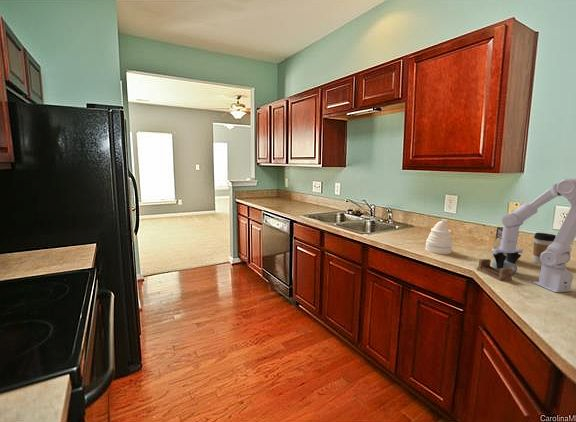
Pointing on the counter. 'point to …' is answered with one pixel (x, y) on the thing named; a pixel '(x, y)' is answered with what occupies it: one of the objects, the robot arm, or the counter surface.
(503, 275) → the roll cradle
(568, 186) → the robot arm
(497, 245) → the coffee box
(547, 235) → the coffee cup
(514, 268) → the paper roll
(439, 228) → the honey pot
